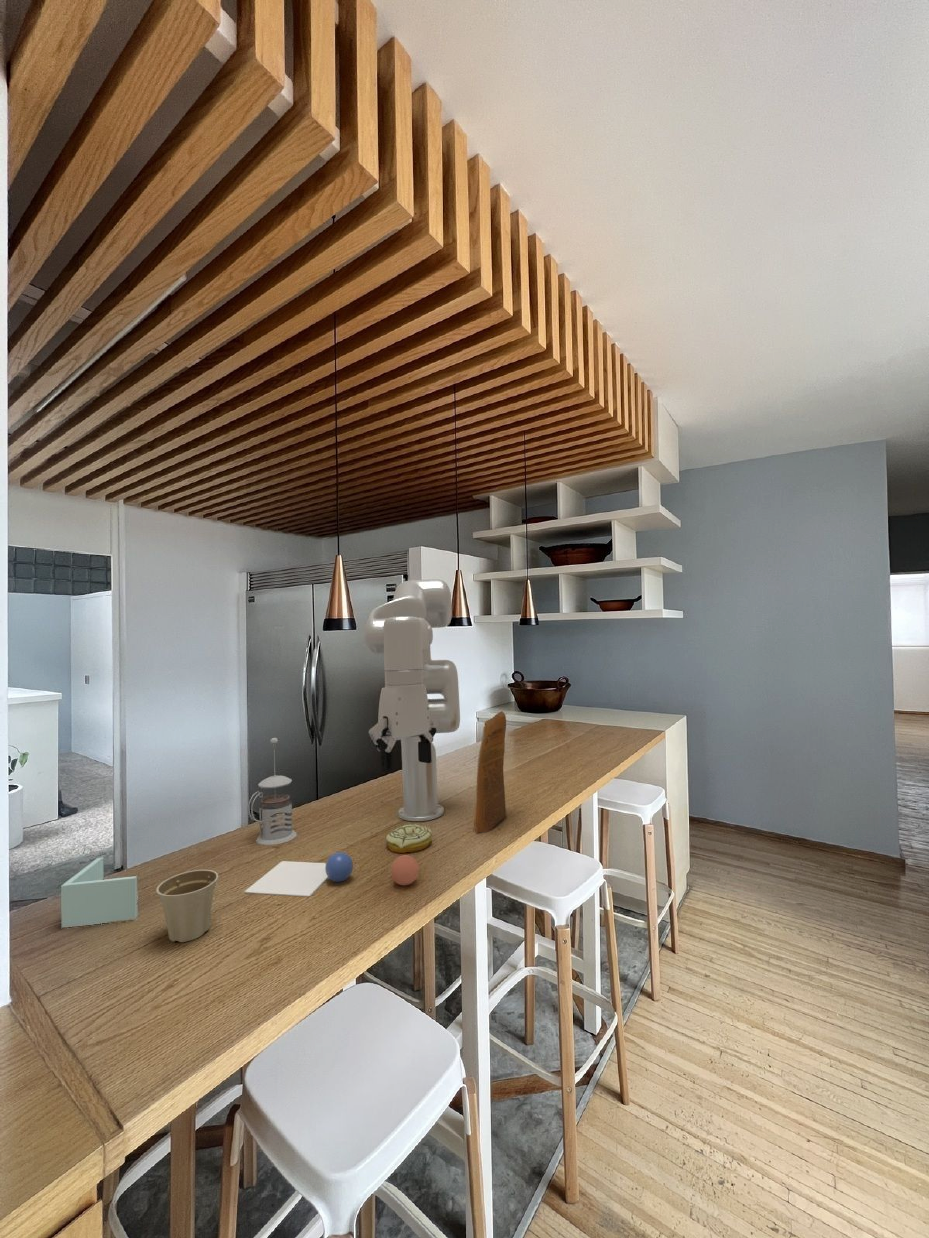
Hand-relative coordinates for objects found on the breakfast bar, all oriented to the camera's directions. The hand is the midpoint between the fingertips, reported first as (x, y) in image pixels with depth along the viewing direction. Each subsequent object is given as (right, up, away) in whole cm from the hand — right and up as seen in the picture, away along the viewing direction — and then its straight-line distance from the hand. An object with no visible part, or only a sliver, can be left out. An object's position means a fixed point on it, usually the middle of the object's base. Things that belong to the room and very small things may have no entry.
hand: (407, 767), depth 101 cm
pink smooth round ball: (-1, -21, +2) cm, 21 cm away
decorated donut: (-2, -25, +22) cm, 33 cm away
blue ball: (-14, -22, +5) cm, 27 cm away
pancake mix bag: (+19, -25, +34) cm, 46 cm away
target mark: (-24, -25, +7) cm, 35 cm away
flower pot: (-36, -25, -12) cm, 46 cm away
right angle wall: (-55, -26, -3) cm, 61 cm away
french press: (-37, -27, +30) cm, 54 cm away
